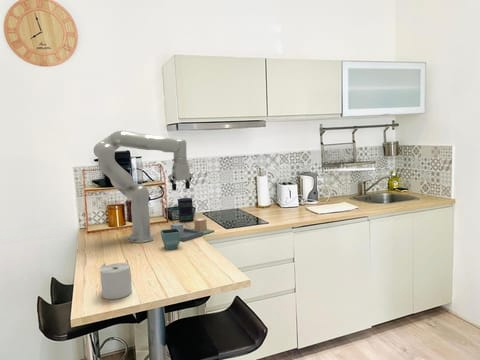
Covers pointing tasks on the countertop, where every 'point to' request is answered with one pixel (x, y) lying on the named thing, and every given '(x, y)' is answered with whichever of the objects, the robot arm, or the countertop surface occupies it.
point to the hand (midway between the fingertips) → (181, 189)
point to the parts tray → (190, 234)
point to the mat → (206, 231)
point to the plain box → (179, 227)
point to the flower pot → (170, 238)
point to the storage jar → (185, 210)
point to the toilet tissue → (116, 280)
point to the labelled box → (200, 224)
